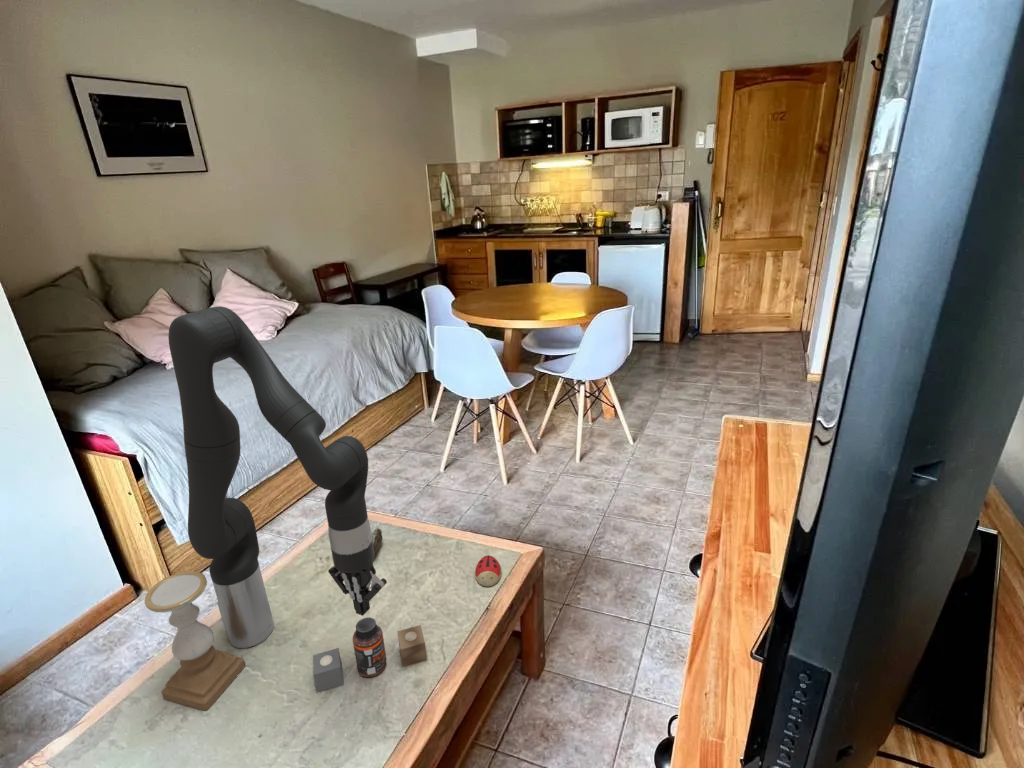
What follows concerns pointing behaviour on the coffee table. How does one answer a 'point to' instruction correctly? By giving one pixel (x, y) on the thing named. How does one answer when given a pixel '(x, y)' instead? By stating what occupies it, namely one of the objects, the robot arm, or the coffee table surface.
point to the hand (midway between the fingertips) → (362, 611)
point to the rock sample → (377, 539)
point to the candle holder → (192, 643)
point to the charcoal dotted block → (327, 670)
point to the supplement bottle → (369, 647)
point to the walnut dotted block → (412, 645)
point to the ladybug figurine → (488, 571)
